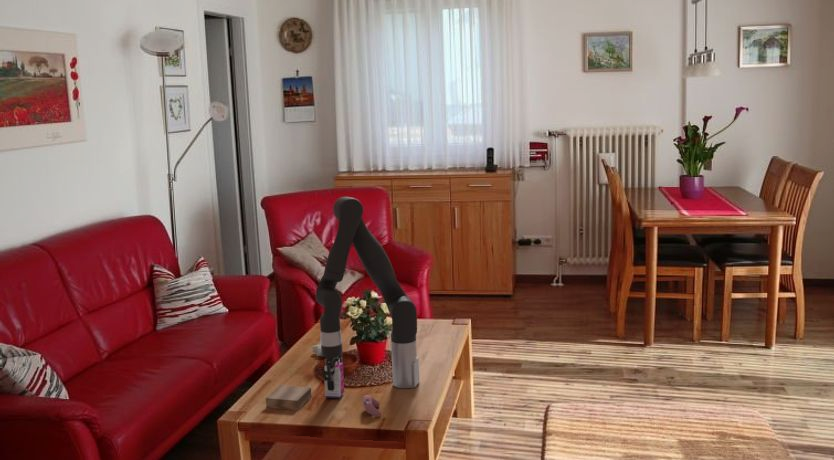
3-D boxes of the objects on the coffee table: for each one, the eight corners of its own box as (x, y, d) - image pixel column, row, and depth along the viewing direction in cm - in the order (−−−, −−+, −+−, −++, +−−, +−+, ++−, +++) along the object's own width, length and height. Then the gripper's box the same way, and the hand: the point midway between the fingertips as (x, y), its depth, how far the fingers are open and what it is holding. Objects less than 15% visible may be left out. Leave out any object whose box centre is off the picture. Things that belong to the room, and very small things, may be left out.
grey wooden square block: (311, 398, 304) (310, 387, 303) (298, 411, 293) (297, 400, 292) (281, 395, 307) (280, 385, 306) (266, 408, 296) (265, 398, 295)
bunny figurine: (309, 348, 344) (318, 333, 358) (310, 360, 345) (319, 344, 359) (331, 349, 342) (340, 333, 356) (332, 360, 344) (341, 344, 358)
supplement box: (340, 398, 300) (338, 367, 298) (324, 397, 301) (322, 367, 299) (345, 392, 306) (343, 362, 303) (329, 391, 307) (327, 361, 304)
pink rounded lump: (369, 410, 294) (359, 394, 292) (381, 404, 294) (371, 388, 292) (370, 422, 284) (360, 406, 283) (382, 416, 284) (372, 399, 283)
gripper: (334, 349, 292) (337, 395, 295) (348, 336, 305) (351, 380, 309) (313, 348, 294) (317, 393, 297) (328, 335, 307) (331, 378, 311)
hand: (334, 386), depth 303 cm, fingers closed on supplement box, 6 cm apart
